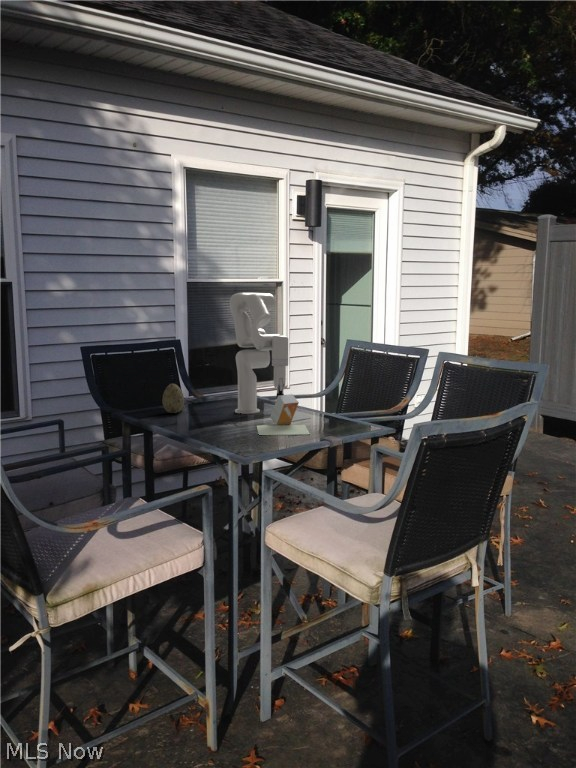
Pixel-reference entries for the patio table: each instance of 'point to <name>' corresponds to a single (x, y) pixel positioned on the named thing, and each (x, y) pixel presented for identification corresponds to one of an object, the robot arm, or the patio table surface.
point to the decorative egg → (173, 399)
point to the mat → (282, 430)
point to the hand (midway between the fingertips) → (280, 402)
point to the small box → (284, 409)
